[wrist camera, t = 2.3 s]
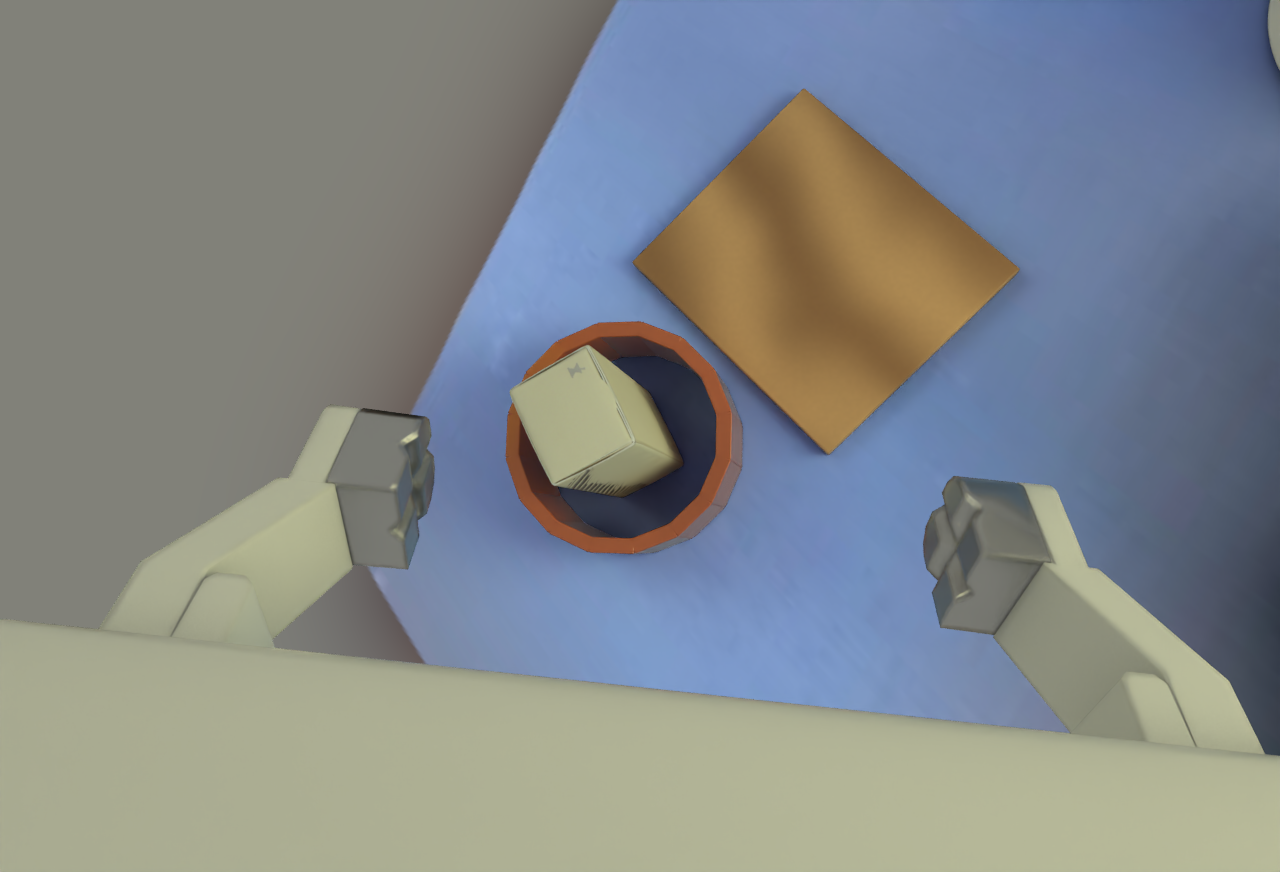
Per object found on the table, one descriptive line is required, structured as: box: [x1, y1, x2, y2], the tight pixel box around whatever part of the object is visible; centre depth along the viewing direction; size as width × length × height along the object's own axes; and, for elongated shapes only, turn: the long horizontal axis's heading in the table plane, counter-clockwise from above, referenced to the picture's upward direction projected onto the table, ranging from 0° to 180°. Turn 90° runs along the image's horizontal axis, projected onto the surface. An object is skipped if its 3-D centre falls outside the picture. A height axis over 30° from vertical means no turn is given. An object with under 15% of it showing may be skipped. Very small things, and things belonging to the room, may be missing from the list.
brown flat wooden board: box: [632, 89, 1020, 455], centre depth 48 cm, size 14×16×1 cm
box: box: [510, 345, 683, 498], centre depth 43 cm, size 5×4×13 cm
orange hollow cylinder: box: [506, 321, 743, 554], centre depth 47 cm, size 12×12×5 cm
